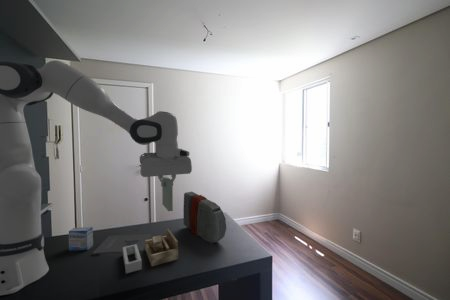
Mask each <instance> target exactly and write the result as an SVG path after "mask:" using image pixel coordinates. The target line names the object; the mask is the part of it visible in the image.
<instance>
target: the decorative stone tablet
mask: <svg viewBox="0 0 450 300" xmlns="http://www.w3.org/2000/svg"><path fill="white" fill-rule="evenodd" d="M182 209H183V225H184V226H185V227H186V228H188V229H189V230H190V232H191V234H194V236H198V237H200V238H201V239H202V240H204V241H206V242H207V243H210V244H215V243H217V242H219V241H221V240H222V239H223V238H225V234H226V231H227V222H226V221H227V220H226V216H225V213H224V211H223V210H222V209H221V206H220V205H218V204H217V203H216V202H214V201H212V200H209V199H207V198H206V197H205V196H204V195H201V194H197V193H195V192H193V191H187V192H184V193H183V208H182Z"/></svg>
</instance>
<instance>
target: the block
mask: <svg viewBox="0 0 450 300" xmlns="http://www.w3.org/2000/svg"><path fill="white" fill-rule="evenodd" d="M161 179H162V180H163V182H166V184H165V185H166V186H165V187H162V188H161V189H162V191H161V194H162V195H161V196H162V199H161V201H162V205H163V206H164V208H165V209H166V210H167V212H173V208H174V207H173V206H174V205H173V198H174V195H173V193H174V191H173V187H174V182H173V181H172V180H171V179H172V178H170V177H168V176H167V175H165V176H163V178H161Z"/></svg>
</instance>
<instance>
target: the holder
mask: <svg viewBox="0 0 450 300" xmlns="http://www.w3.org/2000/svg"><path fill="white" fill-rule="evenodd" d="M134 244H135V243H134ZM130 255H134V258H135V260H132V261H129V258H128V256H130ZM122 257H123V262H124V263H123V264H124V268H125V274H129V273H133V272H136V271H140V270H142V269H143V261H142V258H141V253H140V251H139V250H138V247H137V244H135V245H133V244H131V245H127V246H126V247H123V252H122Z"/></svg>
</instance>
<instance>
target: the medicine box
mask: <svg viewBox="0 0 450 300" xmlns="http://www.w3.org/2000/svg"><path fill="white" fill-rule="evenodd" d="M93 229H94V227H92V226H91V227H90V226H89V227H86V226H85V227H83V226H82V227H73V228H71V229H70V230H69V231H68V251H69V252H73V251H74V252H77V251H89V250H90V249H91V248H92V247H93V246H94V238H93V237H94V236H93V235H94V230H93Z"/></svg>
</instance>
